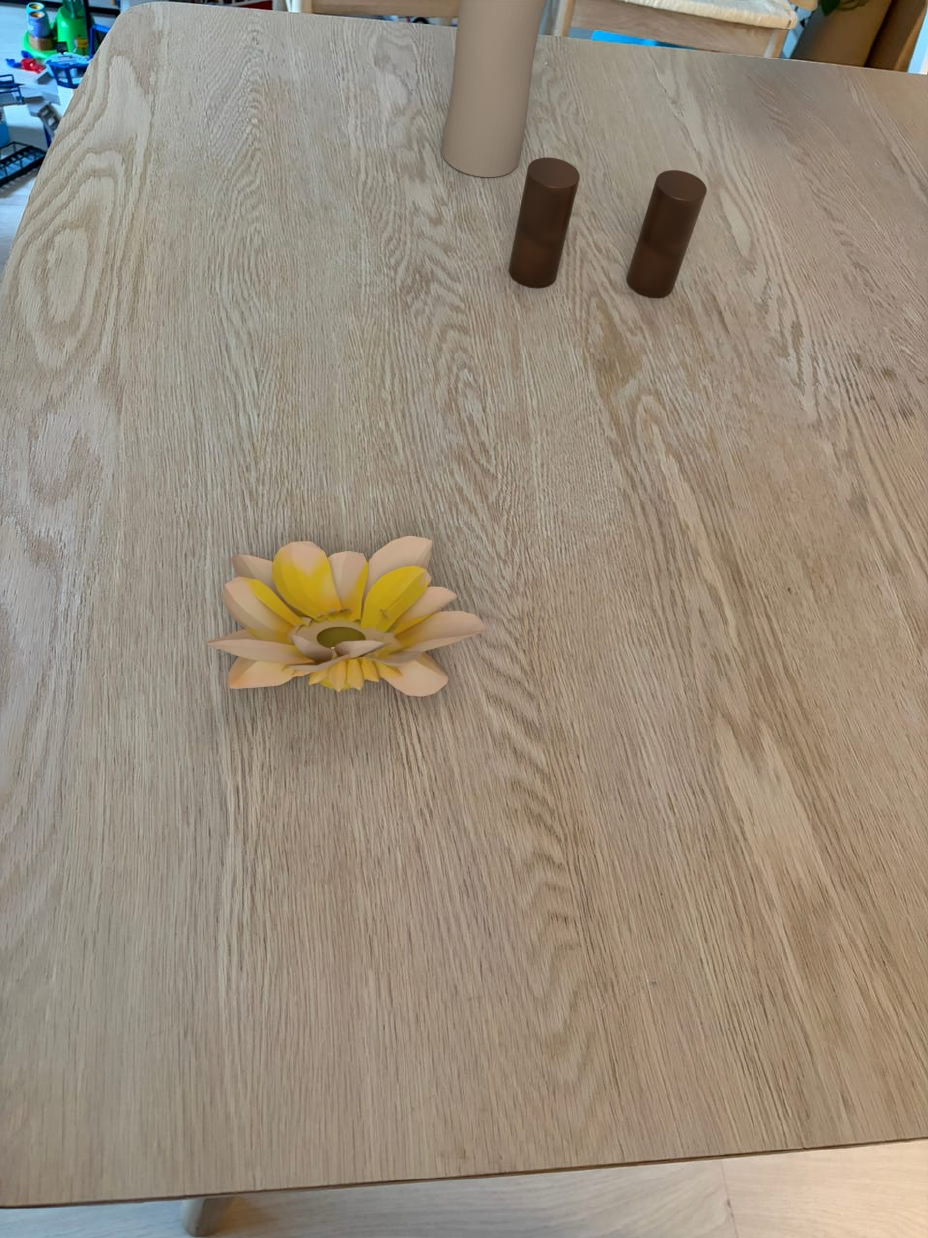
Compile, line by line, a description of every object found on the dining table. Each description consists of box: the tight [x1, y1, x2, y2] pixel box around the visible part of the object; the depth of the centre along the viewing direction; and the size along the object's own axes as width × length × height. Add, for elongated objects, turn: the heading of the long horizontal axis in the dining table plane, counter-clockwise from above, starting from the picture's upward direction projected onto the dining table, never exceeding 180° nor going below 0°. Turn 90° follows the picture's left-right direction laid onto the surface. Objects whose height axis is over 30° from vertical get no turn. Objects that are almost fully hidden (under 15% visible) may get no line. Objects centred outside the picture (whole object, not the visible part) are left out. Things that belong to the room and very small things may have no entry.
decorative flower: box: [202, 535, 487, 698], centre depth 58 cm, size 15×11×10 cm
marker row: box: [508, 157, 708, 299], centre depth 82 cm, size 14×4×9 cm, turn 92°
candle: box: [440, 0, 547, 178], centre depth 88 cm, size 7×14×20 cm, turn 172°
